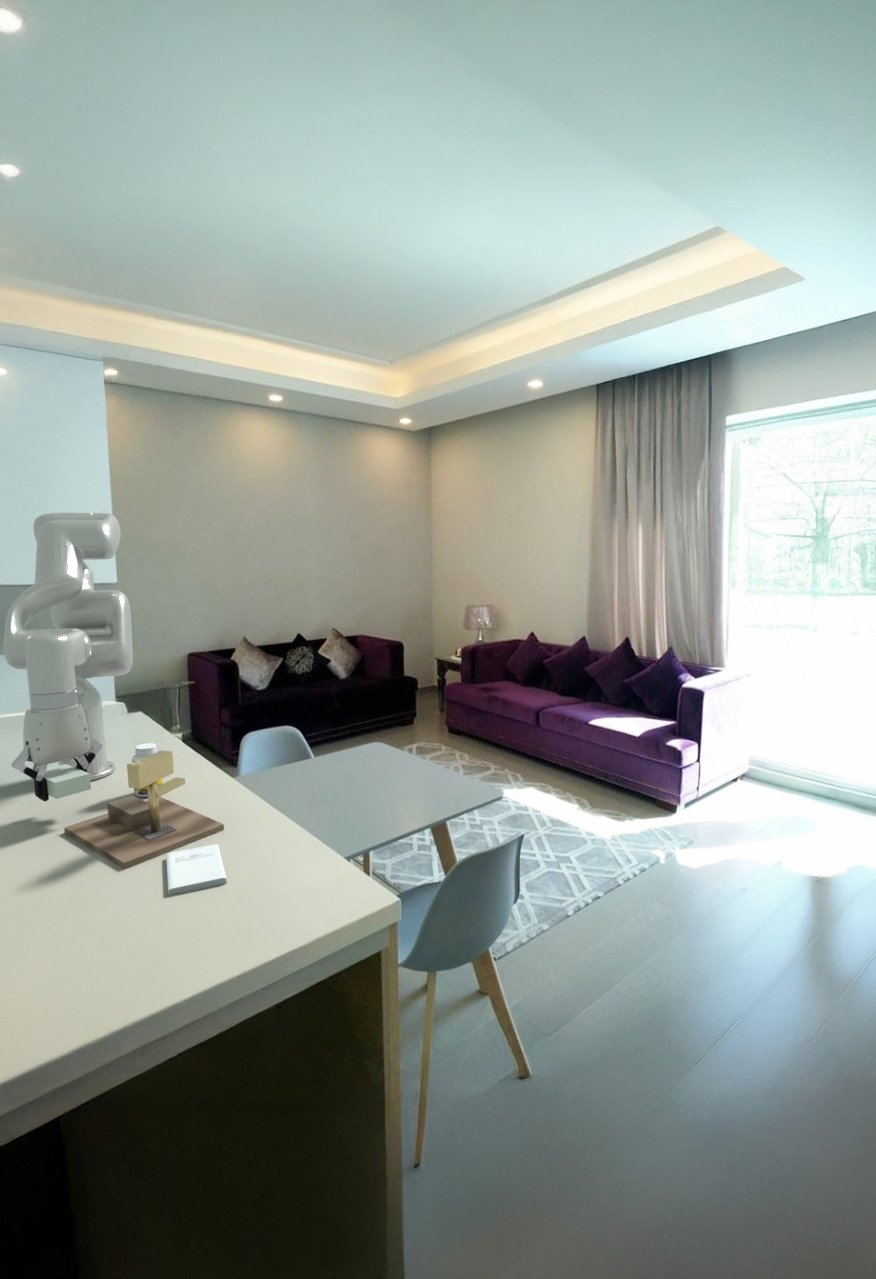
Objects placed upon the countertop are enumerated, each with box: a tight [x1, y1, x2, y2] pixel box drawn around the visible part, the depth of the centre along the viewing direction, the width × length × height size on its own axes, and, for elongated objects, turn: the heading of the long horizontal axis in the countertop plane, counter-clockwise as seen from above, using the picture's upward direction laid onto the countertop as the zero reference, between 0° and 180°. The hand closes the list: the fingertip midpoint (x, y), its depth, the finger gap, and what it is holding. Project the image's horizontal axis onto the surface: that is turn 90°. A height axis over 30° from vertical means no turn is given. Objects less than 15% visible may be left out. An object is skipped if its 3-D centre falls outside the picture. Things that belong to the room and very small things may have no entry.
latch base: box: [63, 795, 225, 870], centre depth 115 cm, size 22×18×4 cm
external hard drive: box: [165, 843, 228, 896], centre depth 101 cm, size 2×8×12 cm
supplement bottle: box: [131, 742, 164, 798], centre depth 133 cm, size 6×6×10 cm
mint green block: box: [32, 764, 92, 800], centre depth 120 cm, size 10×6×3 cm, turn 52°
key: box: [126, 749, 186, 830], centre depth 114 cm, size 11×2×13 cm, turn 161°
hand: (62, 793), depth 121 cm, fingers closed on mint green block, 6 cm apart
